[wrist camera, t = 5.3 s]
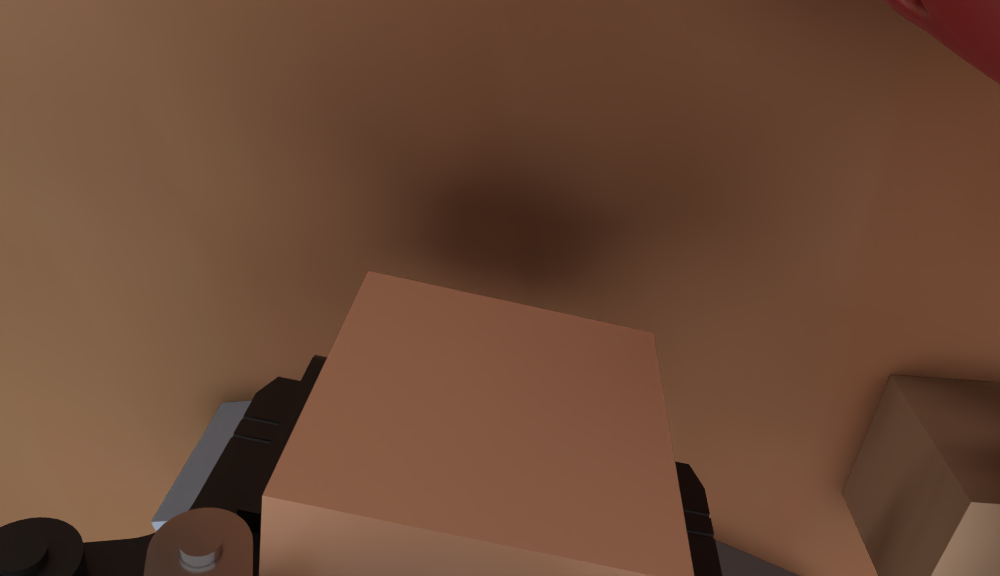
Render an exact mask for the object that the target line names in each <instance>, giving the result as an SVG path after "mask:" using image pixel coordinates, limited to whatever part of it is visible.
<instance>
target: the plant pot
mask: <svg viewBox="0 0 1000 576" xmlns="http://www.w3.org/2000/svg"><path fill="white" fill-rule="evenodd" d="M883 1H884V2H885V3H886V4H887V5H889V6H890V7H891V8H893V9H894V10H895V11H897V12H898V13H899V14H901V15H902V16H903V17H905V18H906V19H908V20H909V21H911V22H912V23H914V24H916V25H917V26H919V27H921V28H922V29H924V30H925V31H926V32H928V33H929V34H930V35H932V36H933V37H934V38H936V39H937V40H939V41H940V42H941V43H943V44H944V45H945V46H947V47H948V48H949V49H951V50H952V51H953V52H955V53H956V54H957V55H959V56H960V57H962V58H963V59H964V60H966V61H967V62H969V63H970V64H971V65H973V66H974V67H976V68H977V69H978V70H980V71H981V72H983V73H984V74H985V75H987V76H988V77H990V78H991V79H993V80H995V81H996V82H998V83H999V84H1000V0H883Z"/></svg>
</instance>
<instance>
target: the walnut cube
mask: <svg viewBox="0 0 1000 576" xmlns="http://www.w3.org/2000/svg"><path fill="white" fill-rule="evenodd" d="M842 494H843V497H844V499H845V501H846V503H847V506H848V508H849V510H850V513H851V515H852V517H853V519H854V522H855V524H856V526H857V528H858V531H859V533H860V535H861V537H862V540H863V542H864V544H865V547H866V549H867V551H868V553H869V556H870V558H871V560H872V562H873V565H874V567H875V569H876V572H877V574H878V576H1000V382H987V381H973V380H959V379H946V378H932V377H918V376H905V375H890V377H889V380H888V382H887V384H886V387H885V389H884V392H883V394H882V397H881V399H880V401H879V404H878V406H877V409H876V411H875V414H874V416H873V419H872V421H871V423H870V426H869V428H868V431H867V433H866V436H865V438H864V441H863V443H862V445H861V448H860V450H859V453H858V455H857V458H856V460H855V462H854V465H853V467H852V470H851V472H850V475H849V477H848V480H847V482H846V484H845V487H844V489H843V492H842Z"/></svg>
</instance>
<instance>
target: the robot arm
mask: <svg viewBox="0 0 1000 576" xmlns="http://www.w3.org/2000/svg"><path fill="white" fill-rule="evenodd" d="M326 359H327V357H323V356H318V355H315V356H314V357H313V358H312V360H311V362H310V364H309V366H308V368H307V370H306V372H305V374H304V376H303V378H302V380H301V381H297V380H292V379H287V378H282V377H277V378H276V379H275V380H273V381H272V382H271V383H269V384H268V385H267V386H265V387H264V388H262V389H261V390H260V391H258V392H257V393H256V394H255V396H254V398H253V399H252V401H251V403H250V405H249V407H248V408H247V410H246V412H245V414H244V417H243V419H241V421H240V422H239V424H238V426H237V428H236V429H235V431H234V434H233V437H231V438H230V440H229V442H228V443H227V445H226V447H225V449H224V450H223V452H222V454H221V456H220V457H219V459H218V461H217V463H216V464H215V466H214V468H213V470H212V471H211V473H210V475H209V477H208V478H207V480H206V482H205V484H204V485H203V487H202V489H201V491H200V493H199V494H198V496H197V498H196V500H195V501H194V503H193V504H192V506H191V507H190V509H189V510H188V511H186V512H183V513H181V514H178V515H177V516H175V517H173V518H171V519H170V520H168V521H167V522H166V523H164V524H163V525H162V526H161V527H160V528H159V529H158V530H157V531H156V533H153V534H150V535H147V536H143V537H139V538H132V539H123V540H110V541H98V542H86V543H83V541H82V538H81V536H80V534H79V533H78V531H77V530H76V529H75V528H74V527H73V526H71V525H70V524H68V523H66V522H64V521H61V520H58V519H53V518H41V517H39V518H29V519H24V520H19V521H16V522H13V523H9V524H7V525H5V526H2V527H0V576H259V562H260V537H261V513H262V495H263V493H264V491H265V489H266V486H267V484H268V482H269V480H270V478H271V476H272V474H273V472H274V469H275V467H276V465H277V463H278V461H279V459H280V457H281V455H282V453H283V450H284V448H285V446H286V444H287V442H288V440H289V438H290V436H291V433H292V431H293V429H294V427H295V425H296V423H297V421H298V419H299V416H300V414H301V412H302V410H303V408H304V406H305V404H306V402H307V400H308V397H309V395H310V393H311V391H312V389H313V387H314V385H315V383H316V380H317V378H318V376H319V374H320V372H321V370H322V368H323V366H324V363H325V361H326ZM675 465H676V471H677V477H678V483H679V488H680V494H681V500H682V506H683V512H684V518H685V524H686V530H687V536H688V542H689V548H690V554H691V560H692V566H693V572H694V576H722V571H721V566H720V561H719V556H718V551H717V547H716V542H715V539H713V535H714V532H713V527H712V522H711V518H709V514H710V513H709V508H708V503H707V498H706V493H705V489H704V487H703V485H702V484H701V482H700V481H699V479H698V478H697V476H696V475H695V473H694V472H693V470H692V468H691V467H690V465H689V464H684V463H680V462H675Z"/></svg>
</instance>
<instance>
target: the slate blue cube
mask: <svg viewBox="0 0 1000 576" xmlns="http://www.w3.org/2000/svg"><path fill="white" fill-rule="evenodd" d="M250 403H251V401H238V402H224V403H221V405H220V407H219V408H218V410H217V412H216V413H215V415H214V417H213V418H212V420H211V422H210V423H209V425H208V427H207V428H206V430H205V432H204V433H203V435H202V437H201V439H200V440H199V442H198V444H197V445H196V447H195V449H194V450H193V452H192V454H191V455H190V457H189V459H188V460H187V462H186V464H185V465H184V467H183V469H182V471H181V472H180V474H179V476H178V477H177V479H176V481H175V482H174V484H173V486H172V487H171V489H170V491H169V492H168V494H167V496H166V497H165V499H164V501H163V503H162V504H161V506H160V508H159V509H158V511H157V513H156V514H155V516H154V518H153V519H152V521H151V523H152V525H153V526H154V528H155V530H156V531H157V530H158V529H159V528H160V527H161V526H162V525H163V524H164V523H166V522H167V521H168V520H170V519H171V518H173V517H175V516H177V515H178V514H181V513H183V512H186V511H188V510H189V509H190V507H191V506H192V504H193V503H194V501H195V500H196V498H197V496H198V494H199V493H200V491H201V489H202V487H203V485H204V484H205V482H206V480H207V478H208V477H209V475H210V473H211V471H212V470H213V468H214V466H215V464H216V463H217V461H218V459H219V457H220V456H221V454H222V452H223V450H224V449H225V447H226V445H227V443H228V442H229V440H230V438H231V437H233V434H234V431H235V429H236V428H237V426H238V424H239V422H240V421H241V419H243V417H244V414H245V412H246V410H247V408H248V407H249V405H250Z"/></svg>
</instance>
